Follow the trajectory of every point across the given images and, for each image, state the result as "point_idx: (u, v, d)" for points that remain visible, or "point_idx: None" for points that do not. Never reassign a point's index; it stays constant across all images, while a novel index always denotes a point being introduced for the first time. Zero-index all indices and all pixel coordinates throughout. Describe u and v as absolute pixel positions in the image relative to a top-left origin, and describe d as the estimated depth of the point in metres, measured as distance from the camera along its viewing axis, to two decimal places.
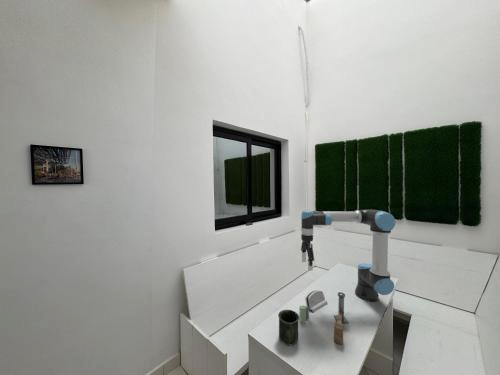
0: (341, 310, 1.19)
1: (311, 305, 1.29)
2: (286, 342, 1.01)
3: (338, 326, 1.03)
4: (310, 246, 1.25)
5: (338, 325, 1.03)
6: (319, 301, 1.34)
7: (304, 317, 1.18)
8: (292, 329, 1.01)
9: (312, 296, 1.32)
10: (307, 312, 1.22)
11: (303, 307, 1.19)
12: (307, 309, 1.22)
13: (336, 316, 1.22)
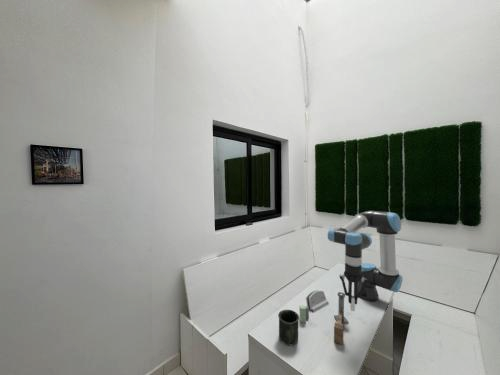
0: (341, 310, 1.19)
1: (311, 305, 1.30)
2: (286, 342, 1.01)
3: (338, 326, 1.03)
4: None
5: (338, 325, 1.03)
6: (320, 301, 1.34)
7: (304, 317, 1.18)
8: (292, 329, 1.01)
9: (313, 296, 1.32)
10: (307, 312, 1.22)
11: (303, 307, 1.19)
12: (307, 309, 1.22)
13: (336, 316, 1.22)
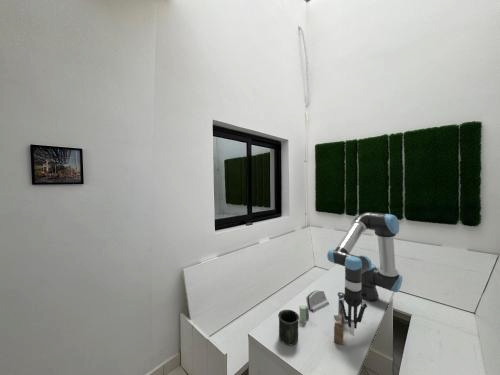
0: (341, 310, 1.19)
1: (312, 305, 1.30)
2: (286, 342, 1.01)
3: (338, 326, 1.03)
4: None
5: (338, 325, 1.03)
6: (320, 301, 1.34)
7: (304, 317, 1.18)
8: (292, 329, 1.01)
9: (313, 296, 1.33)
10: (307, 312, 1.22)
11: (303, 307, 1.19)
12: (307, 309, 1.22)
13: (336, 316, 1.22)
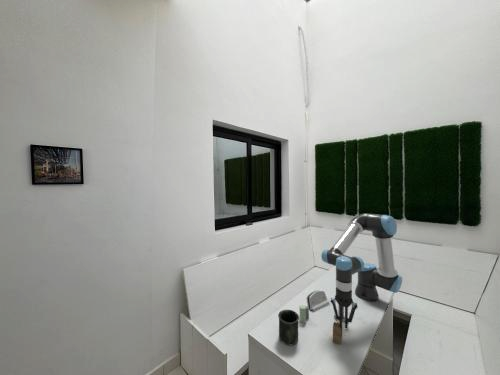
0: None
1: (312, 305, 1.30)
2: (286, 342, 1.01)
3: (337, 326, 1.03)
4: None
5: (336, 325, 1.04)
6: (321, 301, 1.34)
7: (304, 317, 1.18)
8: (292, 329, 1.01)
9: (313, 296, 1.33)
10: (307, 312, 1.22)
11: (303, 307, 1.19)
12: (307, 309, 1.22)
13: None
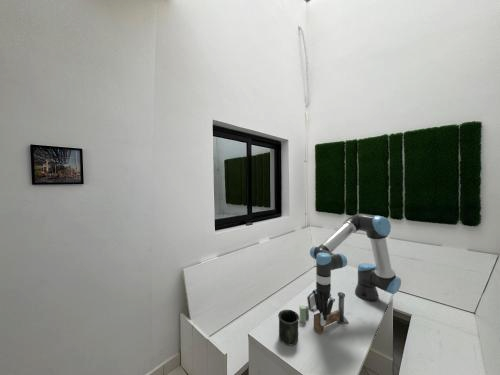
0: (341, 310, 1.19)
1: (312, 304, 1.30)
2: (286, 342, 1.01)
3: (317, 316, 1.11)
4: None
5: (318, 315, 1.11)
6: None
7: (304, 317, 1.18)
8: (292, 329, 1.01)
9: None
10: (307, 312, 1.22)
11: (303, 307, 1.19)
12: (307, 309, 1.22)
13: None
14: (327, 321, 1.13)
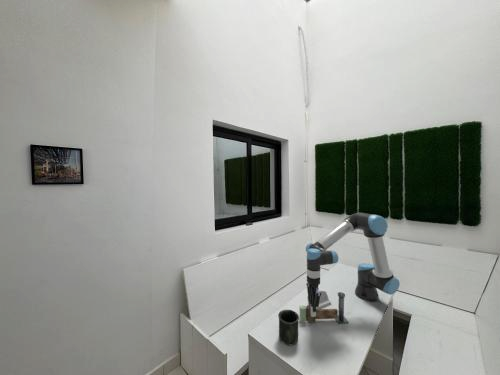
0: (341, 310, 1.19)
1: None
2: (286, 342, 1.01)
3: (309, 307, 1.19)
4: None
5: (310, 306, 1.19)
6: (322, 301, 1.34)
7: (304, 317, 1.18)
8: (292, 329, 1.01)
9: None
10: None
11: (303, 307, 1.19)
12: None
13: None
14: (321, 315, 1.19)
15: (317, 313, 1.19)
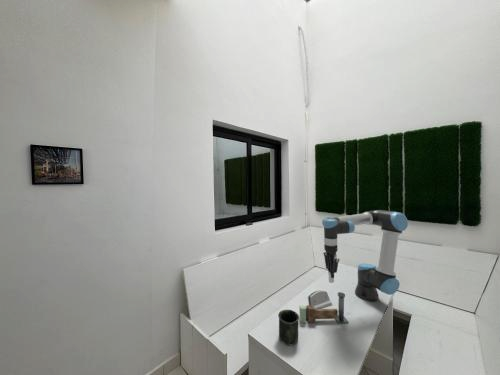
0: (341, 310, 1.19)
1: (313, 304, 1.30)
2: (286, 342, 1.01)
3: (309, 307, 1.19)
4: None
5: (310, 306, 1.19)
6: (322, 301, 1.34)
7: (304, 317, 1.18)
8: (292, 329, 1.01)
9: (315, 295, 1.33)
10: None
11: (303, 307, 1.19)
12: None
13: None
14: (321, 315, 1.19)
15: (317, 313, 1.19)
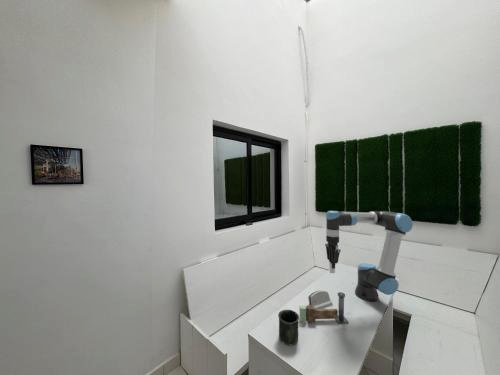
0: (341, 310, 1.19)
1: (313, 304, 1.31)
2: (286, 342, 1.01)
3: (309, 307, 1.19)
4: None
5: (310, 306, 1.19)
6: (323, 301, 1.34)
7: (304, 317, 1.18)
8: (292, 329, 1.01)
9: (315, 295, 1.33)
10: None
11: (303, 307, 1.19)
12: None
13: None
14: (321, 315, 1.19)
15: (317, 313, 1.19)
